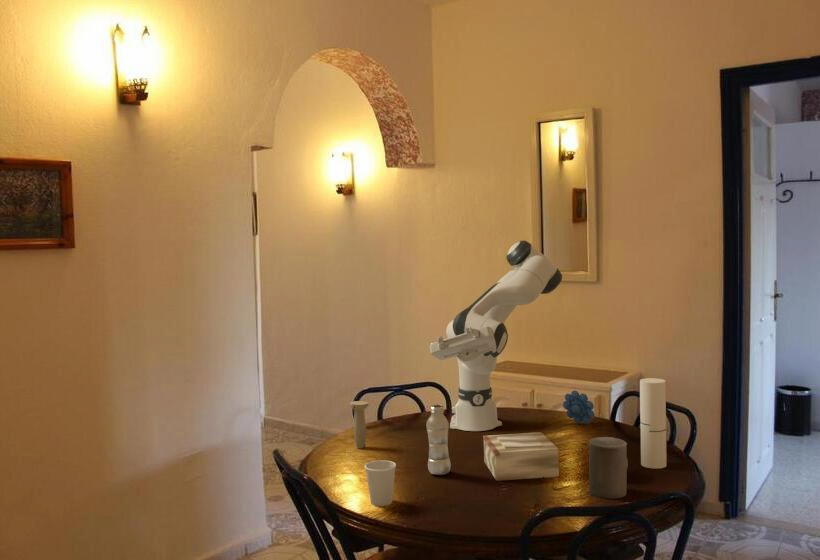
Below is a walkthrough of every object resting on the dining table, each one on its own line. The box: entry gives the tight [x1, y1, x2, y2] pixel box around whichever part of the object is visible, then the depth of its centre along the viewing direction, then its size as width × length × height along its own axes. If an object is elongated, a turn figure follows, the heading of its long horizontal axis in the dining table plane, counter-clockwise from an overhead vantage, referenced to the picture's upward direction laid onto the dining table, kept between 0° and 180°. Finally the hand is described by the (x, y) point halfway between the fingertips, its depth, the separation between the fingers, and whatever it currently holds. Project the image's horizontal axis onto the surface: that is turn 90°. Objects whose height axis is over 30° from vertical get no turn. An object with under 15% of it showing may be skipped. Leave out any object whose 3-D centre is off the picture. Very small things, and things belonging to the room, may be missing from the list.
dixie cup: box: [363, 459, 397, 507], centre depth 199 cm, size 8×8×10 cm
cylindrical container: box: [639, 377, 667, 470], centre depth 221 cm, size 7×7×25 cm
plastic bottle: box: [425, 404, 452, 476], centre depth 220 cm, size 6×7×20 cm
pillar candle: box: [588, 436, 628, 500], centre depth 200 cm, size 10×10×15 cm
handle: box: [349, 400, 369, 449], centre depth 250 cm, size 5×6×15 cm
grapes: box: [562, 390, 596, 425], centre depth 270 cm, size 12×7×12 cm, turn 58°
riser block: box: [482, 431, 560, 481], centre depth 222 cm, size 18×18×8 cm
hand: (453, 334), depth 226 cm, fingers open, 8 cm apart
